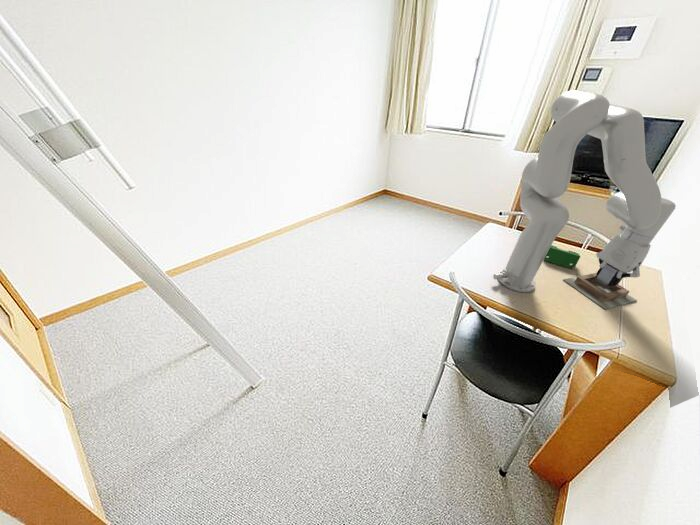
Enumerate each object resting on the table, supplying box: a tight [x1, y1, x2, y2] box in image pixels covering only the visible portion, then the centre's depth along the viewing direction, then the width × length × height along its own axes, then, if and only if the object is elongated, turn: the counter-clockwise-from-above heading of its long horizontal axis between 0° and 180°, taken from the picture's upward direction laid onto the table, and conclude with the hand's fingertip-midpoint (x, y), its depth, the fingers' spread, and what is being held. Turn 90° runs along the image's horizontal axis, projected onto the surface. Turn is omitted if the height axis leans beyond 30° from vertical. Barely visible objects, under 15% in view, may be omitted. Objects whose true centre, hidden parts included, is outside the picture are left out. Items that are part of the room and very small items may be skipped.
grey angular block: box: [594, 264, 619, 289], centre depth 105 cm, size 6×4×8 cm
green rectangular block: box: [543, 244, 581, 269], centre depth 122 cm, size 12×6×9 cm, turn 52°
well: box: [563, 272, 638, 310], centre depth 107 cm, size 16×16×3 cm
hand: (605, 280), depth 106 cm, fingers closed on grey angular block, 4 cm apart
